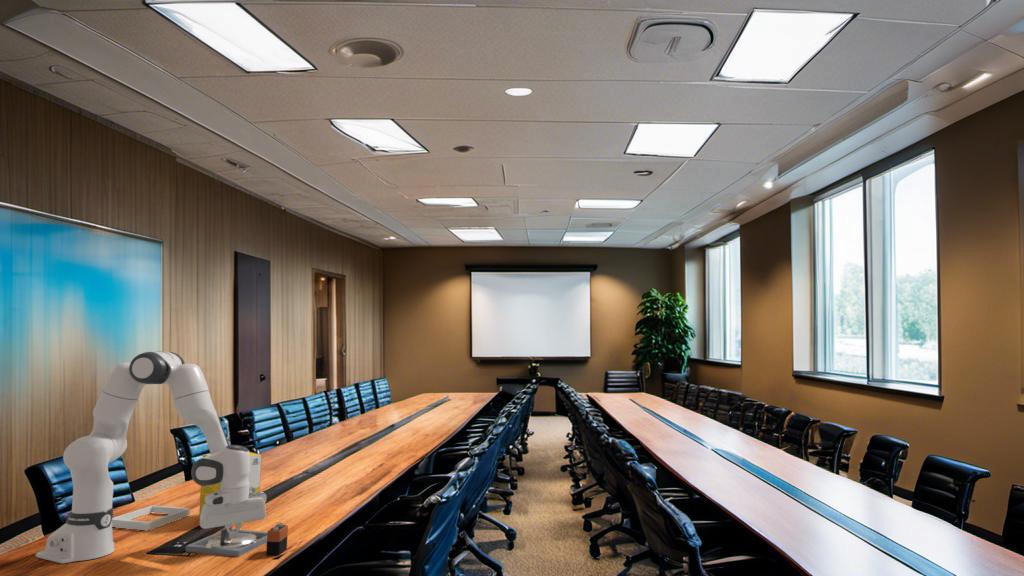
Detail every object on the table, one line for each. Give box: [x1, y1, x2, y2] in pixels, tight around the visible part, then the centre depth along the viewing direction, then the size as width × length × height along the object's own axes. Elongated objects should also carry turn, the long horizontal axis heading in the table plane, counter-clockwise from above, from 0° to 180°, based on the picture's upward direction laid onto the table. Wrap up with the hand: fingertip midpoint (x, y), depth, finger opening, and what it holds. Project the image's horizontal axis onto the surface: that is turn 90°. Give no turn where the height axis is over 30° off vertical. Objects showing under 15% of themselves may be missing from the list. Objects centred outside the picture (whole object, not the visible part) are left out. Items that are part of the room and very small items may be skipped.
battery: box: [265, 522, 289, 560], centre depth 200 cm, size 4×7×10 cm, turn 178°
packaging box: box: [198, 451, 263, 519], centre depth 243 cm, size 16×16×25 cm
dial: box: [208, 527, 257, 549], centre depth 207 cm, size 15×15×7 cm
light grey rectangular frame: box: [111, 505, 191, 531], centre depth 236 cm, size 18×21×3 cm
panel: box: [185, 528, 267, 558], centre depth 207 cm, size 20×20×4 cm
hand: (232, 537), depth 202 cm, fingers closed
